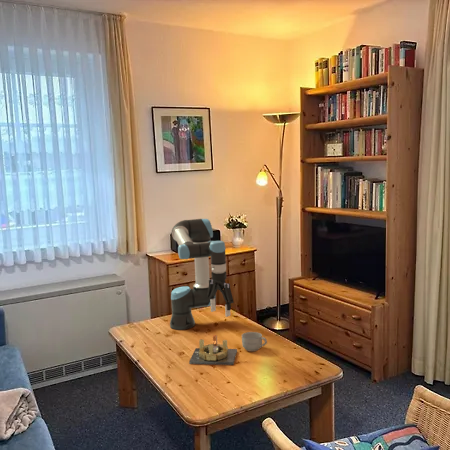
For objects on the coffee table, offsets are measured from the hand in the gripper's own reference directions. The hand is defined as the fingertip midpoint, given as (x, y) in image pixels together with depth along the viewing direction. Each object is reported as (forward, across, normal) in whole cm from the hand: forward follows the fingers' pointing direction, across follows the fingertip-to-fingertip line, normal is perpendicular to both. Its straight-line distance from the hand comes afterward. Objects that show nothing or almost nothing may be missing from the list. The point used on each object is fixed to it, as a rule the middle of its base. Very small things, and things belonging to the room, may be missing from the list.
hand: (220, 313), depth 245 cm
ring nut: (+20, 0, -6) cm, 21 cm away
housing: (+22, 0, -6) cm, 23 cm away
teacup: (+22, +8, +16) cm, 28 cm away
